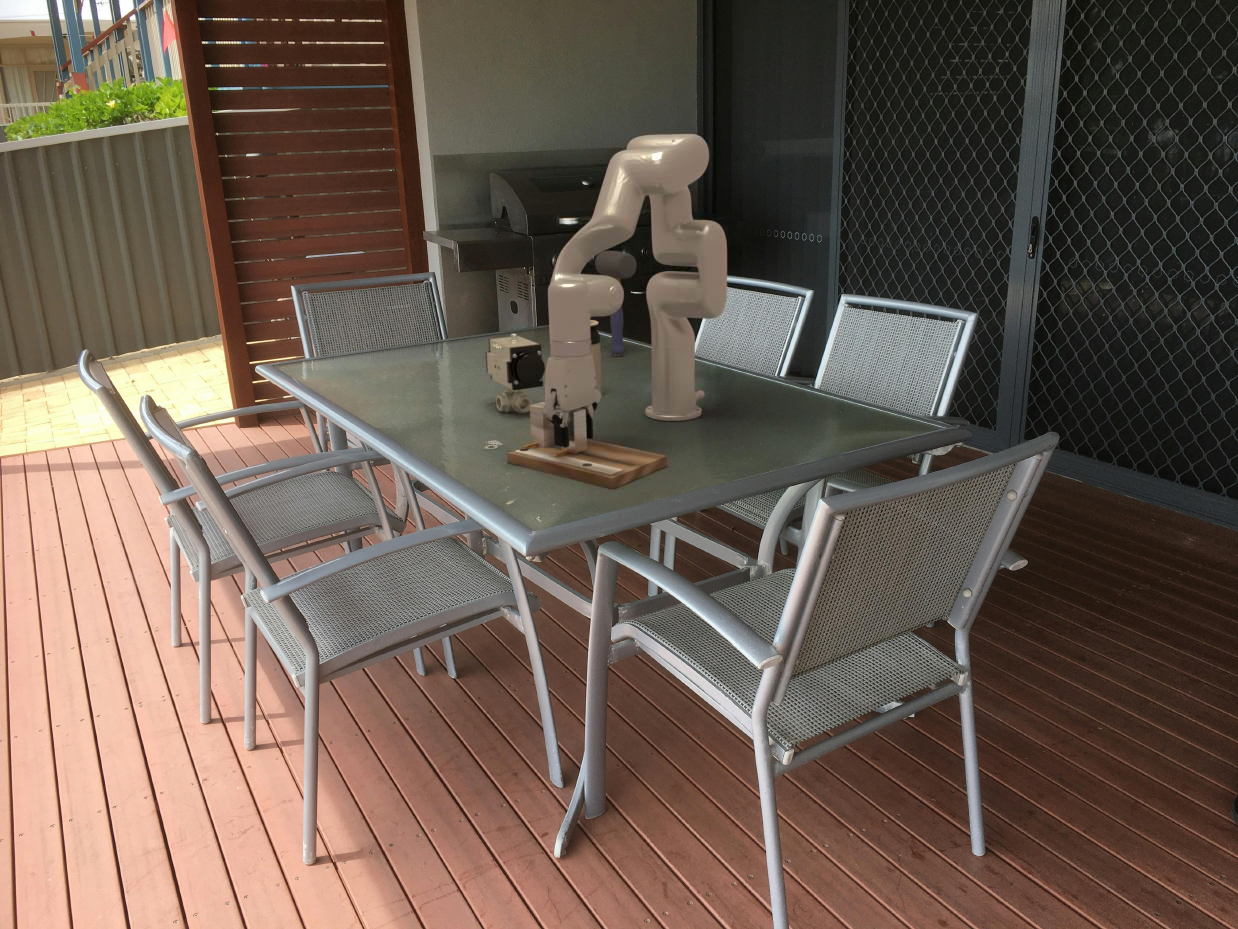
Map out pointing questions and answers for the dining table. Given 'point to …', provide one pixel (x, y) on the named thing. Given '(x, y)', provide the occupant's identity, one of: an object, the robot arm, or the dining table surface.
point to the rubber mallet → (618, 268)
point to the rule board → (583, 457)
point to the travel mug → (596, 352)
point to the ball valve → (515, 370)
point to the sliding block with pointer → (575, 432)
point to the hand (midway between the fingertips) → (574, 441)
